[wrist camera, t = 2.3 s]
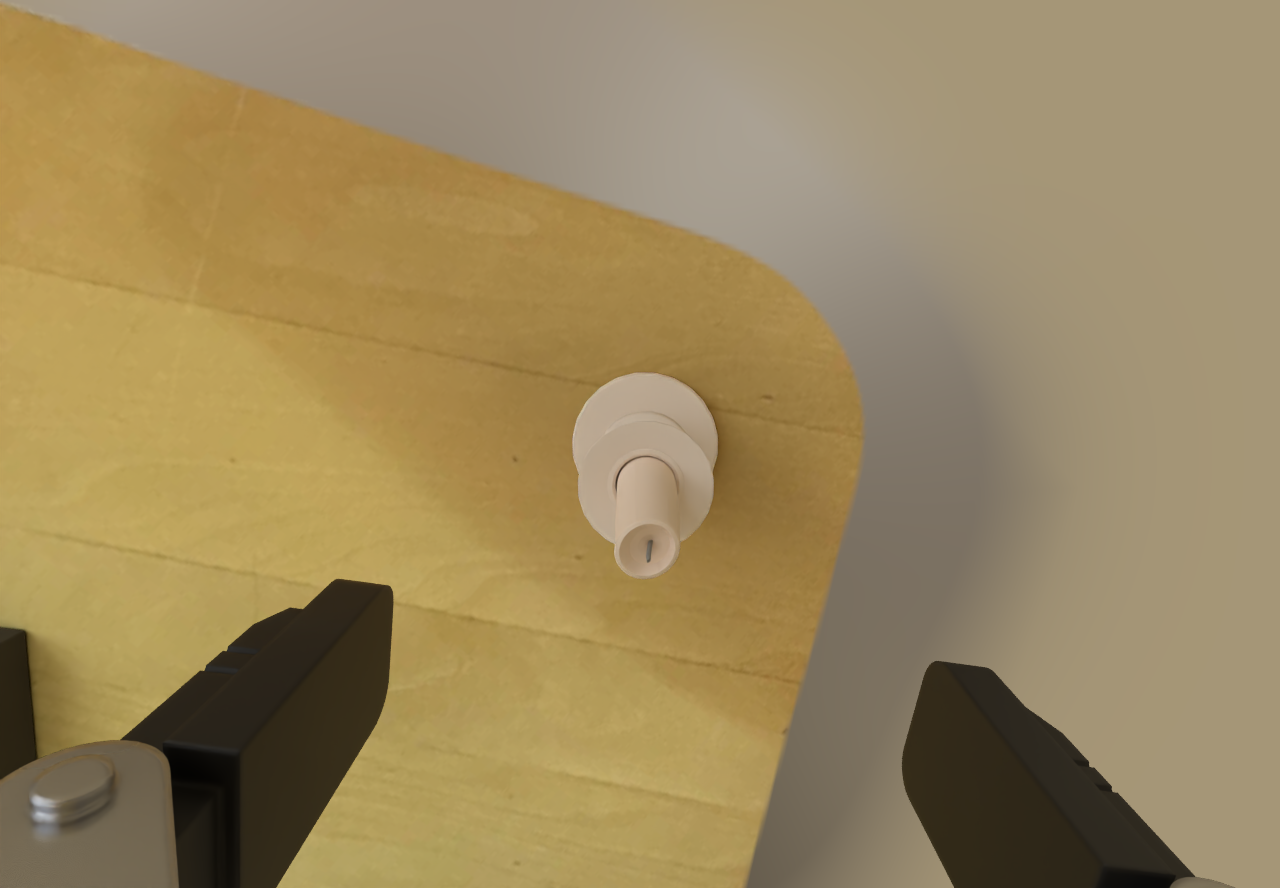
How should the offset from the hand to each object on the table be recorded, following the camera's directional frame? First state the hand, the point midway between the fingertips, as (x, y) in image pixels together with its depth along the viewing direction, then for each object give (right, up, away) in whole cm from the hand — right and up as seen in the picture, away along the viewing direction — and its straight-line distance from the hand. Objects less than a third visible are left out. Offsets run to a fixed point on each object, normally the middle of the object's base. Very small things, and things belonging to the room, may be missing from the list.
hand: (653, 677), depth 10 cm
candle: (0, +4, +14) cm, 15 cm away
